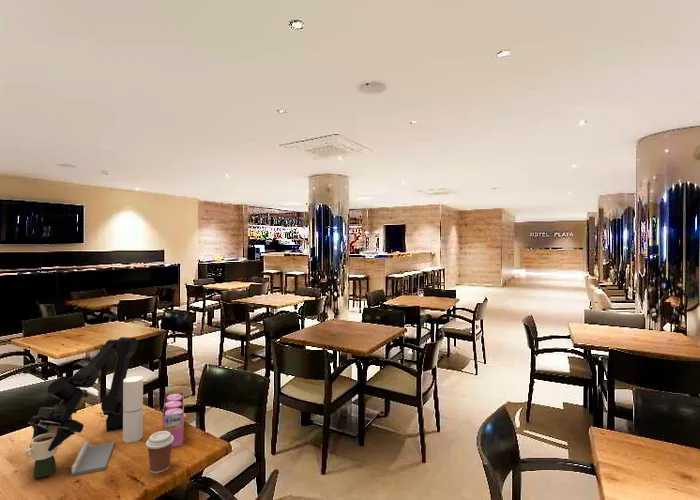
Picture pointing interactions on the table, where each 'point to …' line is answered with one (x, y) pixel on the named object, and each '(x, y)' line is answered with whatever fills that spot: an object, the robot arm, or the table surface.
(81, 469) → the shelf board
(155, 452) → the coffee cup
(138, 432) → the cylindrical container
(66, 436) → the robot arm
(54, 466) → the character mug
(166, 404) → the gum box
